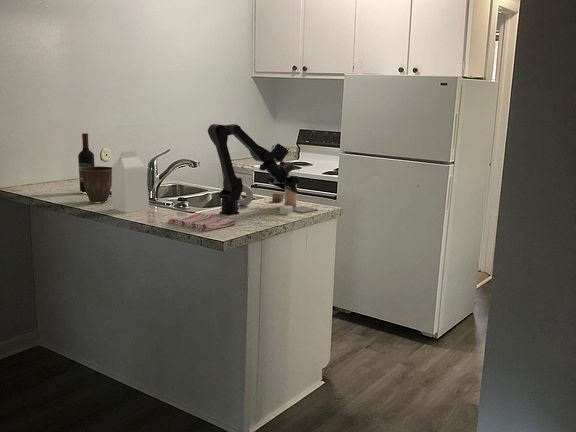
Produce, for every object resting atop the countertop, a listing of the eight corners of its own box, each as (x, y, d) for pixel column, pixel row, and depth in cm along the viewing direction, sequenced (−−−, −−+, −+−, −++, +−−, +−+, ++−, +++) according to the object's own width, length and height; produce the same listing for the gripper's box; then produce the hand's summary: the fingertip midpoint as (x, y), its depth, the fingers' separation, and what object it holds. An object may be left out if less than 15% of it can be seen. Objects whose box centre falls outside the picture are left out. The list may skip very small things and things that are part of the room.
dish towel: (205, 233, 230) (205, 224, 229) (166, 223, 245) (166, 215, 244) (237, 226, 243) (237, 217, 242) (198, 217, 258) (198, 209, 257)
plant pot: (109, 198, 294) (108, 165, 291) (119, 203, 282) (118, 169, 278) (78, 201, 286) (76, 167, 283) (87, 206, 274) (85, 171, 270)
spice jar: (290, 207, 280) (290, 177, 277) (281, 205, 284) (282, 176, 281) (298, 205, 284) (299, 176, 281) (290, 204, 288) (291, 175, 285)
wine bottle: (99, 192, 308) (96, 133, 302) (87, 194, 302) (83, 134, 296) (89, 191, 312) (86, 132, 306) (77, 193, 306) (73, 133, 300)
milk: (126, 213, 261) (123, 153, 255) (111, 209, 268) (108, 150, 263) (149, 209, 269) (147, 151, 264) (134, 205, 277) (132, 149, 272)
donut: (254, 205, 282) (254, 184, 280) (251, 207, 279) (251, 185, 277) (236, 203, 286) (236, 183, 284) (232, 205, 283) (232, 183, 281)
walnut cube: (280, 202, 292) (280, 194, 291) (272, 201, 293) (272, 193, 293) (283, 201, 296) (283, 193, 295) (275, 200, 297) (275, 192, 296)
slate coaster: (302, 213, 267) (302, 212, 267) (286, 209, 274) (286, 208, 274) (317, 210, 274) (318, 209, 274) (302, 207, 281) (302, 205, 281)
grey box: (288, 215, 264) (288, 208, 263) (279, 214, 265) (279, 207, 265) (292, 212, 270) (292, 206, 269) (284, 211, 271) (284, 205, 270)
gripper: (296, 158, 269) (315, 181, 278) (272, 154, 284) (291, 176, 293) (282, 177, 266) (301, 199, 275) (258, 172, 281) (277, 193, 290)
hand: (293, 191), depth 283 cm, fingers closed on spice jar, 6 cm apart
